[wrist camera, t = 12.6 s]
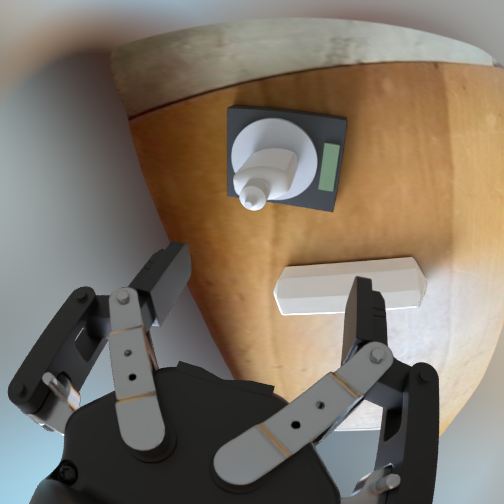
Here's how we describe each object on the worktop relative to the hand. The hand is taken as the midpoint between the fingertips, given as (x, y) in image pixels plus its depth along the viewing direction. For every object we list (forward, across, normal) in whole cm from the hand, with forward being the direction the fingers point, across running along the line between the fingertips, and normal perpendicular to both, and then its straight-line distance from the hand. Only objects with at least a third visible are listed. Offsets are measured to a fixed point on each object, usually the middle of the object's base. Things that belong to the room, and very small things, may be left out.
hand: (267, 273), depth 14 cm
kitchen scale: (+26, +3, +3) cm, 27 cm away
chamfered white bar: (+26, -9, +21) cm, 35 cm away
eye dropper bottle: (+23, +4, +3) cm, 24 cm away
